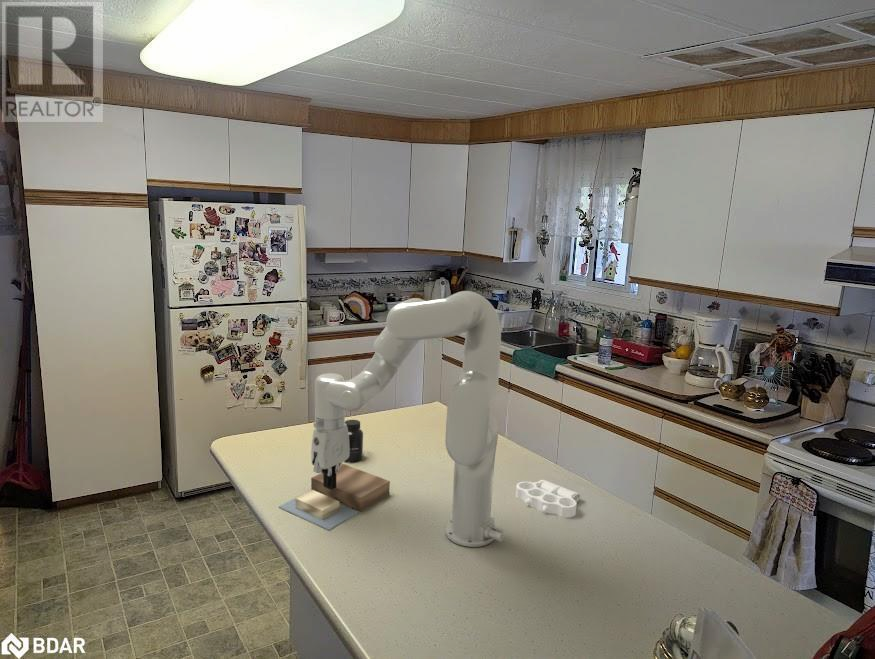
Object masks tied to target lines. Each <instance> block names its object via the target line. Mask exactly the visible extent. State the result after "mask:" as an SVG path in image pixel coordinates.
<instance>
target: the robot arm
mask: <svg viewBox="0 0 875 659" xmlns="http://www.w3.org/2000/svg"><path fill="white" fill-rule="evenodd" d="M501 328H502V327H501V322H500V317H499V314H498V313H497V310H496V309H495V307H494V306H493V305H492V303H491V302H490V301H489V300H488V299H487V298H486V297H485V296H483V295H481V294H479V293H477V292H475V291H470V290H463V291H458V292H456V293H453V294H451V295H450V296H447V297H445V298H439V299H432V300H425V299H422V298H418V297H413V298H409V299H407V300H404V301H401V302H399V303H396V305H394V306H392V308H390V311H389V312H388V314H387V317H386V326H384V328H383V330H381V332H380V333H379V335H378V336H377V337H376V339H375V340H374V342H373V349H374V351H375V352H374V354H373V355H372V358H371V359H370V360H369V361H368V363H367V364H366V366H365V367H364V368H363V369H362V371H361V372H360V373H359V374H357V375H355V376H354V377H352V378H351V379H347V380H345V378H344V376H342V374H339V373H331V372H328V373H327V372H326V373H323V374H320V375H318V376H317V377H316V378H315V379H314V409H315V410H314V419H315V420H314V423H313V432H312V433H313V434H312V438H311V439H312V440H311V450H310V454H311V455H310V456H311V457H310V459H311V460H310V461H311V465H313V470H312V472H313V473H316V474H320V473H322V474H323V486H324V487H326V488H328V489H331V490H332V489H333V488H336V473H338V470H339V466H340V464H341V463H342V464H343V462H346V461H345V460H347V459H348V458H349V455H350V446H349V434H348V428H347V425H346V423H345V421H346V420H345V418H346V417H345V416H346V411H349V412H357V411H360V410H362V409H363V408H364V407H366V406H367V405H368V404H369V403H371V402H372V401H374V400H375V399H376V398H377V397H379V396H380V394H381V393H382V392H383V391H384V390H385V388H386V387H387V386H388V385H389V383H390V382H391V380H393V378H394V377H395V375H396V374H397V373H398V371H399V369H400V368H401V366H402V364H403V362H404V361H405V360H406V359H407V358H408V356H409V355H410V353H411V352H412V351H413V349H414V348H415V347H416V346H417V345H418V343H419V342H420V341H423V340H431V339H440V338H449V337H455V336H458V335H459V336H460V335H461V334H463V333H465V340H464V344H463V352H462V353H463V356H462V367H461V374H460V376H459V377H458V379H457V380H456V381H455V382H454V383H453V385H452V386H451V388H450V389H449V390H450V391H449V393H448V398H447V404H446V405H447V407H446V420H445V421H446V425H445V449H446V451H447V454H448V456H449V457H450V458H451V460H453V462H454V468H453V487H452V488H453V490H452V509H451V519H450V520H449V521H448V522H446V524H445V527H444V533H445V536H446V538H448V539H449V540H450V541H451V542H452V543H455V544H457V545H460V546H462V547H469V548H476V547H477V548H478V547H479V548H480V547H483V546H488V545H489V544H491V543H492V542H494V540H495V541H498V542H500V543H501V542H502V541H503V539H504V536H505V535H504V532H505V531H504V528H502V527H500V526H497V525H496V524H495V518H494V517H492V505H493V504H492V501H493V490H494V489H493V487H494V473H495V462H496V461H495V460H496V453H497V452H496V450H497V445H498V437H499V428H498V423H497V421H496V418H495V417H494V416H493V415H492V414H491V412H490V410H491V407H492V406H493V404H494V403H495V401H496V399H497V397H498V394H499V379H500V378H499V377H500V362H501V346H502V345H501V342H502V330H501Z"/></svg>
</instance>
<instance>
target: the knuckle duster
mask: <svg viewBox="0 0 875 659" xmlns="http://www.w3.org/2000/svg"><path fill="white" fill-rule="evenodd" d="M515 487H516V488H515V497H516V498H517V499H519V500H522V501H523V502H524V504H526V505H527V506H529V507H530V508H534V509H537V510H538V511H539V512H541V513H545V514H552V515H556V516H560V517H561V518H572V517H575V516H576V514H577V503H578V501H579V500H580V498H581V493H579V492H577V491H573V490H572V489H571V490H570V489H568V488H565V487H564V486H562V485H558V484H555V483H552V482H551V481H548V480H546V479H540V480H538V481H536V482H533V481H520V482H517V483H516V486H515Z"/></svg>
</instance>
